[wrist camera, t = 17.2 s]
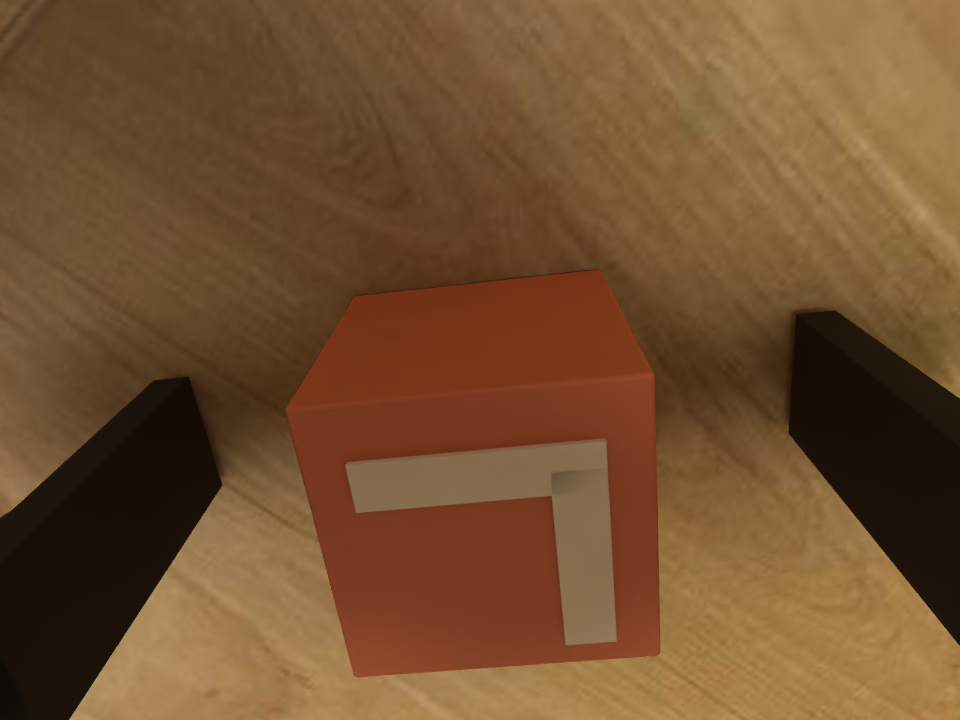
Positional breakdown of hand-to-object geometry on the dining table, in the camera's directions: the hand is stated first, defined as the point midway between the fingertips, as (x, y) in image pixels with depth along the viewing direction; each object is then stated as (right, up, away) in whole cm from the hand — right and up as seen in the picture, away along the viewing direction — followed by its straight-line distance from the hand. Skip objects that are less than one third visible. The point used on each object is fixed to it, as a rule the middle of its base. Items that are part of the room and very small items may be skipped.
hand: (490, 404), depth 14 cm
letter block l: (0, 0, 0) cm, 0 cm away
